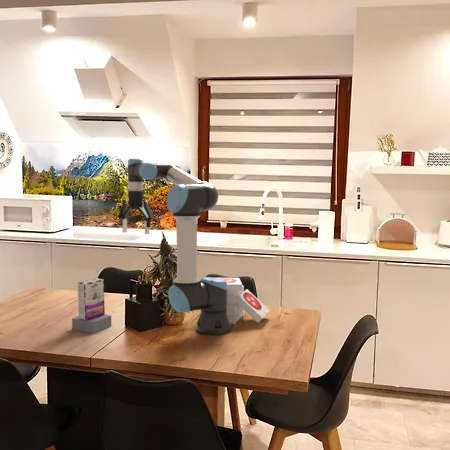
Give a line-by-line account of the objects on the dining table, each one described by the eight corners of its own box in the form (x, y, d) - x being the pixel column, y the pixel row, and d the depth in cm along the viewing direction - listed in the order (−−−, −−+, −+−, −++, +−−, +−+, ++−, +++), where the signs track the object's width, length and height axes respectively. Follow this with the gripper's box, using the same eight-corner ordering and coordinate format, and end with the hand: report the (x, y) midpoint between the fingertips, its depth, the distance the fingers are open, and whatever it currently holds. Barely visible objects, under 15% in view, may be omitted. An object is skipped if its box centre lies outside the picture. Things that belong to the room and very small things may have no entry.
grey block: (111, 326, 239) (111, 315, 238) (93, 333, 228) (93, 322, 228) (90, 322, 244) (90, 311, 244) (72, 329, 234) (72, 318, 233)
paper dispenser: (261, 327, 240) (262, 288, 238) (199, 321, 249) (199, 283, 247) (270, 316, 259) (271, 280, 257) (211, 310, 267) (212, 275, 265)
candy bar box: (97, 313, 242) (97, 277, 240) (105, 315, 239) (104, 279, 237) (77, 318, 233) (77, 282, 231) (85, 320, 230) (84, 283, 228)
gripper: (161, 190, 259) (161, 234, 261) (120, 189, 271) (120, 230, 273) (152, 191, 253) (152, 235, 255) (110, 189, 264) (111, 232, 266)
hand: (135, 233), depth 264 cm, fingers open, 13 cm apart
